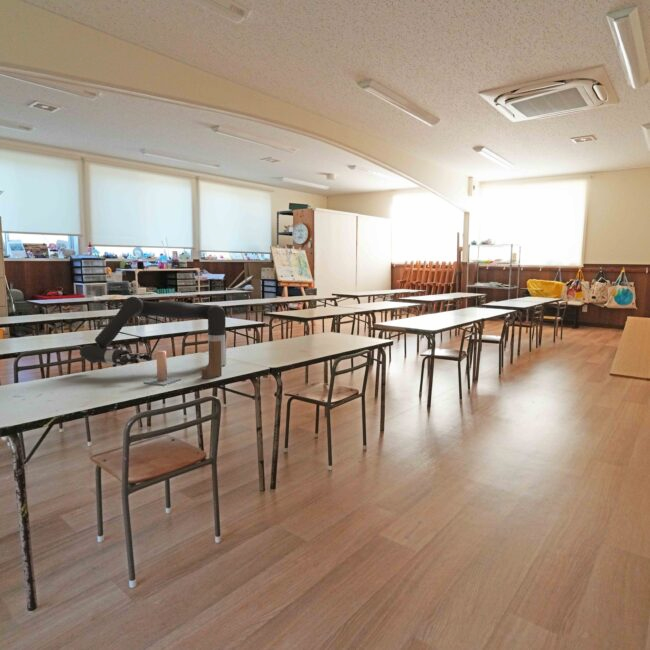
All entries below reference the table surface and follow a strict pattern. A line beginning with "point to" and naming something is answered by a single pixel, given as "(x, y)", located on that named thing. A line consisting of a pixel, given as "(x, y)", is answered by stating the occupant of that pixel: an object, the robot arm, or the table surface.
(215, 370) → the brown boot
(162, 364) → the tan tall cylinder
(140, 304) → the robot arm
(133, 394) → the table surface
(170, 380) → the rubber mat
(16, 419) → the table surface
